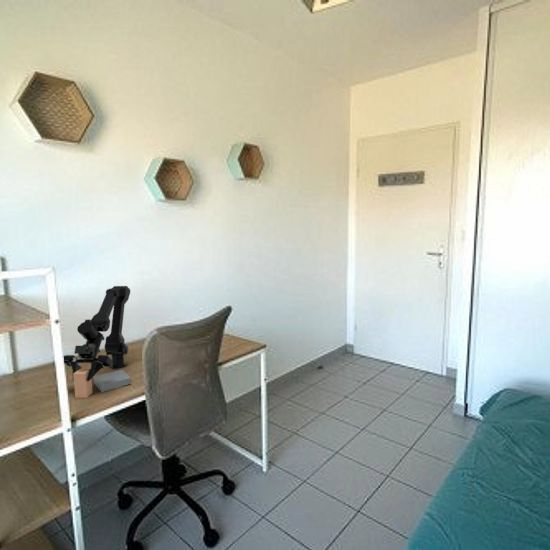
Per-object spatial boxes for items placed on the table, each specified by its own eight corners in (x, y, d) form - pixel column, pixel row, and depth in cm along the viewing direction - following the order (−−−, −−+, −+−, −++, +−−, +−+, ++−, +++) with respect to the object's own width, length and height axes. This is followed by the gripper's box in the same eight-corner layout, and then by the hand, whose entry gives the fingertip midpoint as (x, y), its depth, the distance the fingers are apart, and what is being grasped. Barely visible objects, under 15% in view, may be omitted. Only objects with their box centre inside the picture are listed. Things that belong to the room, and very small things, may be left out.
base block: (94, 382, 167) (93, 376, 167) (122, 375, 174) (122, 369, 174) (101, 392, 158) (100, 385, 157) (131, 384, 165) (130, 377, 164)
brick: (75, 397, 154) (73, 373, 152) (81, 392, 158) (79, 369, 157) (86, 397, 153) (84, 373, 152) (92, 392, 158) (90, 369, 156)
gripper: (62, 336, 157) (47, 372, 147) (106, 336, 156) (95, 373, 146) (74, 348, 166) (61, 383, 156) (117, 348, 165) (106, 383, 155)
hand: (80, 380), depth 153 cm, fingers open, 5 cm apart
